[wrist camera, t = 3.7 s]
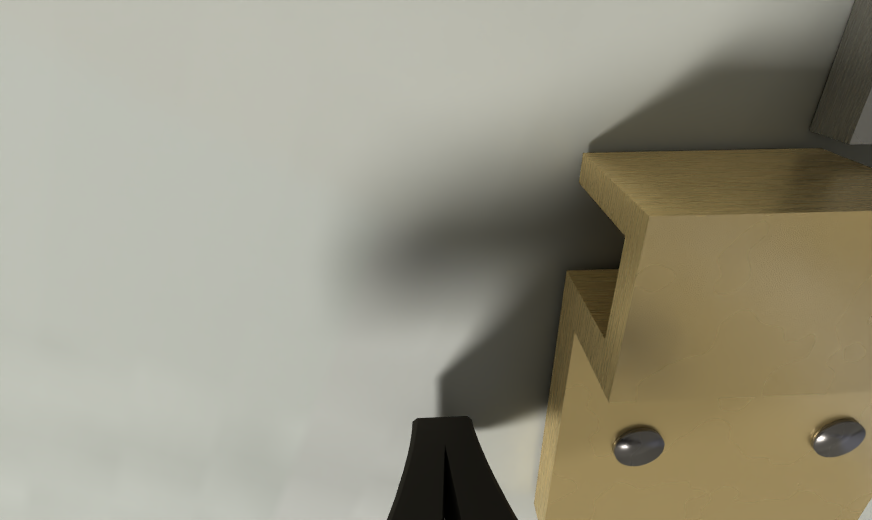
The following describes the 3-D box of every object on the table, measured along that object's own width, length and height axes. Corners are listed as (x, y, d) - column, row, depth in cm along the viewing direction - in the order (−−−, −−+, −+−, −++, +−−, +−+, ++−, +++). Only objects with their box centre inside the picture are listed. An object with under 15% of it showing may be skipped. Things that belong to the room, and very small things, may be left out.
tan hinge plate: (830, 489, 15) (920, 596, 12) (533, 503, 15) (561, 616, 12) (1030, 144, 10) (1255, 201, 7) (583, 152, 10) (649, 216, 7)
